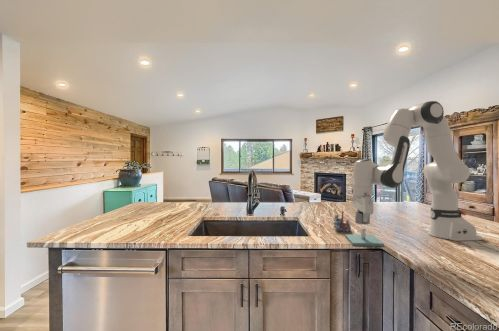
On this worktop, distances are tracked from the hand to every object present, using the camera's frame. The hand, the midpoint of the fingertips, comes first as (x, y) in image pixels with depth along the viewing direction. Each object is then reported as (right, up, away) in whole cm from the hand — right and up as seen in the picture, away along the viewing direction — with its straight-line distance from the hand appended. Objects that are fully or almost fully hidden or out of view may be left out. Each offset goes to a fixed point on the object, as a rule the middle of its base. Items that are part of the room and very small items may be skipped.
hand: (362, 219), depth 128 cm
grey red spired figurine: (-3, -11, +21) cm, 24 cm away
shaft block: (0, -11, 0) cm, 11 cm away
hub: (0, -2, 0) cm, 2 cm away
